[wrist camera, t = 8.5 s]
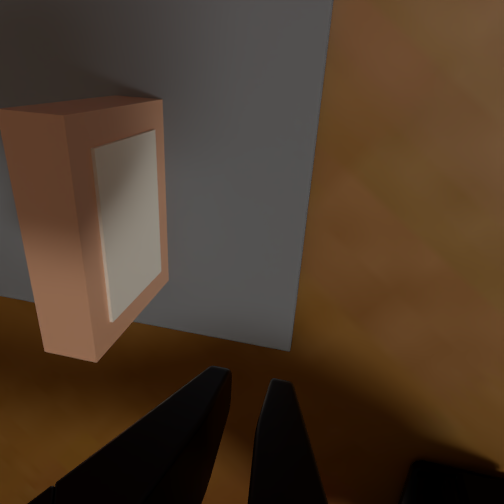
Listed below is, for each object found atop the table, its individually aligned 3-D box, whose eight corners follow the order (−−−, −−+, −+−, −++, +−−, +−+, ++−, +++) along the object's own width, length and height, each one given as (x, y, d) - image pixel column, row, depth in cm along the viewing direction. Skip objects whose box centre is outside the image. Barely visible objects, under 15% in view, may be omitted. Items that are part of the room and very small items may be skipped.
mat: (290, 346, 19) (289, 351, 19) (3, 291, 22) (-3, 295, 22) (336, -27, 13) (336, -30, 13) (-73, -36, 16) (-84, -39, 16)
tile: (171, 280, 19) (99, 363, 14) (129, 273, 19) (44, 351, 14) (165, 99, 16) (67, 115, 10) (115, 95, 16) (-4, 108, 11)
